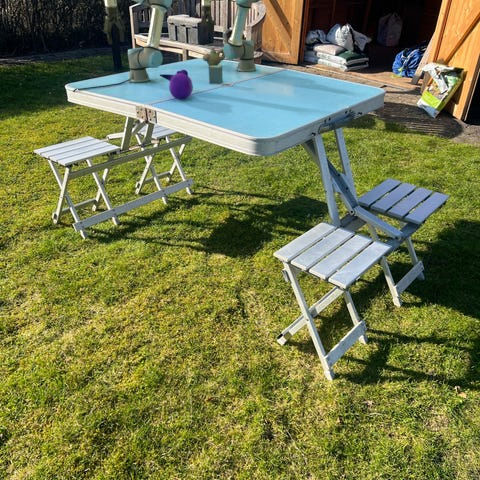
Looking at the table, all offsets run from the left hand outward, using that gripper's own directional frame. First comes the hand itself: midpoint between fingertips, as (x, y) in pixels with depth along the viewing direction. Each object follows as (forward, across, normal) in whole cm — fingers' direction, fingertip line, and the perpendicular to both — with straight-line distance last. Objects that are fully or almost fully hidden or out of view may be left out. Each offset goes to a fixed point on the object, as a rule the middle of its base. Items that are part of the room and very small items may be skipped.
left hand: (116, 43), depth 296 cm
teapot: (+31, +107, -22) cm, 113 cm away
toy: (+31, -7, -46) cm, 56 cm away
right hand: (+5, +100, -20) cm, 102 cm away
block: (+31, +42, -51) cm, 74 cm away
